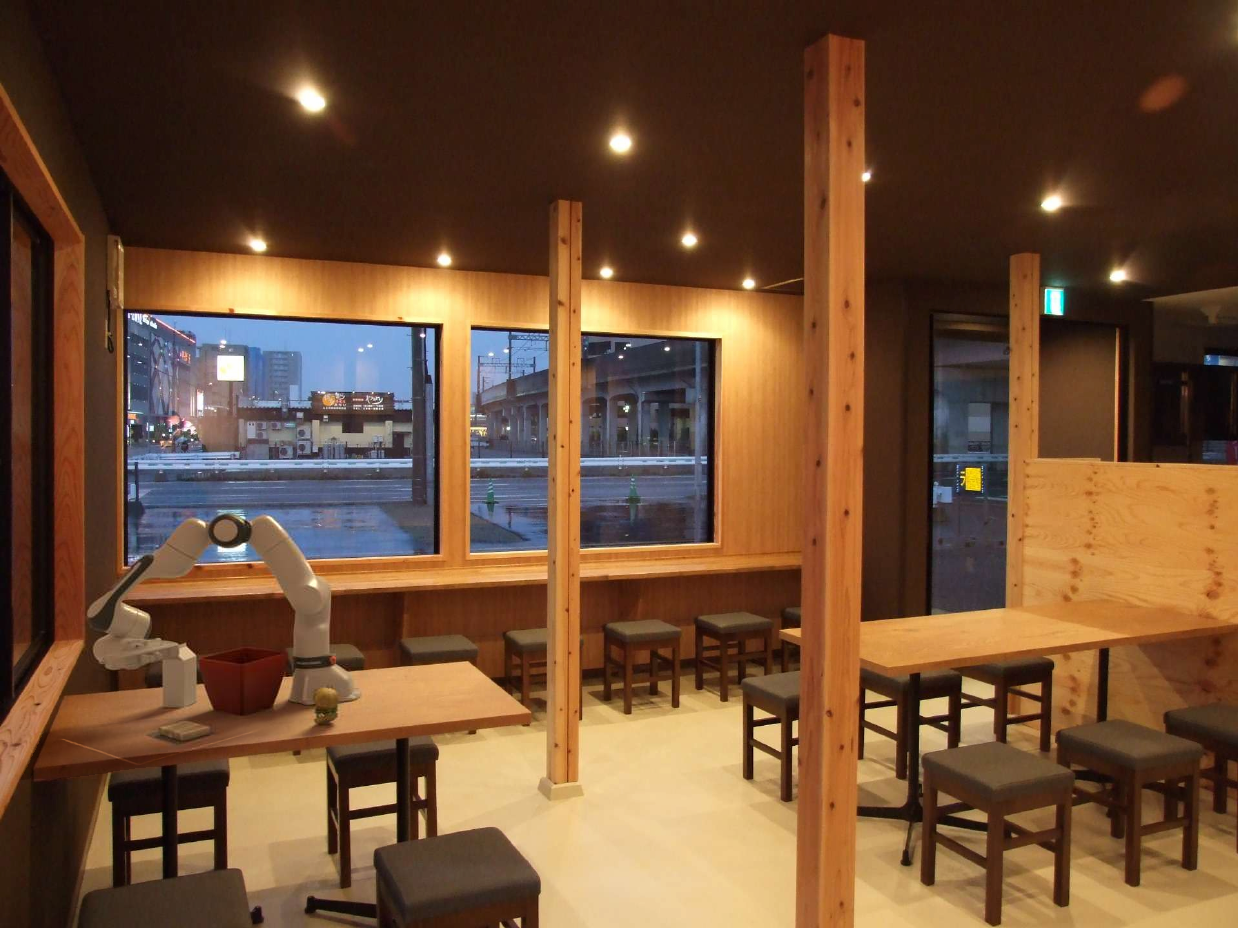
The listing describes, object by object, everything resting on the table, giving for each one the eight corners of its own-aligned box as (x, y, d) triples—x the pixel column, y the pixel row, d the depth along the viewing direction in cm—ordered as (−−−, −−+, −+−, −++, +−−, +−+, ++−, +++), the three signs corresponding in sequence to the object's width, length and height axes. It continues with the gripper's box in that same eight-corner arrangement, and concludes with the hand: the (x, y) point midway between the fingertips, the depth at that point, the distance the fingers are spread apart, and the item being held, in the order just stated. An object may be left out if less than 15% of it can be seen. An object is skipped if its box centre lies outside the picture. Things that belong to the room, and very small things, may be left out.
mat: (145, 736, 257) (145, 734, 257) (185, 725, 267) (185, 724, 267) (177, 745, 248) (177, 744, 248) (218, 734, 258) (218, 732, 258)
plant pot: (290, 704, 289) (290, 651, 289) (242, 720, 272) (242, 664, 272) (246, 697, 297) (245, 646, 297) (196, 713, 280) (196, 658, 280)
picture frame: (158, 727, 257) (183, 734, 250) (185, 720, 264) (210, 726, 257) (158, 734, 257) (183, 741, 250) (185, 727, 264) (210, 734, 257)
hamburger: (330, 719, 273) (330, 679, 273) (344, 723, 268) (344, 682, 268) (307, 725, 267) (307, 684, 267) (321, 729, 262) (321, 688, 262)
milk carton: (196, 702, 292) (196, 642, 292) (184, 708, 285) (183, 647, 285) (175, 701, 293) (175, 642, 293) (162, 707, 286) (162, 647, 286)
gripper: (95, 650, 263) (120, 655, 256) (163, 636, 281) (189, 640, 273) (96, 672, 264) (121, 677, 256) (164, 657, 281) (190, 661, 273)
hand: (157, 658), depth 265 cm, fingers closed
